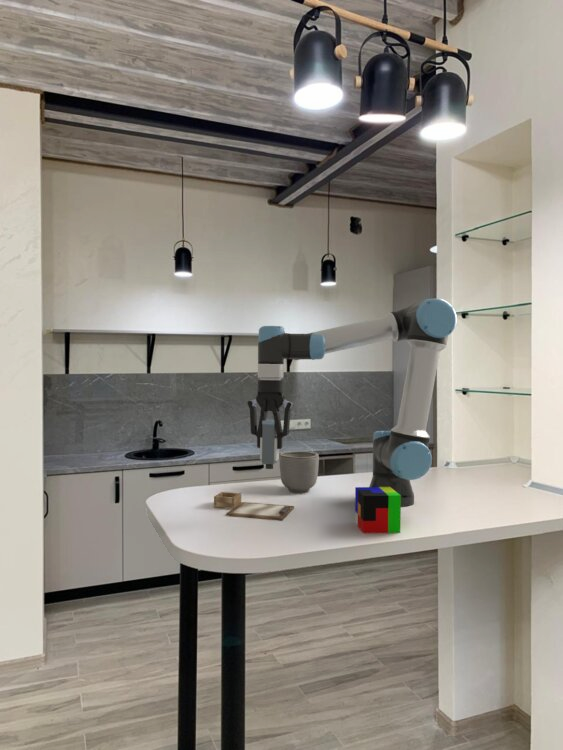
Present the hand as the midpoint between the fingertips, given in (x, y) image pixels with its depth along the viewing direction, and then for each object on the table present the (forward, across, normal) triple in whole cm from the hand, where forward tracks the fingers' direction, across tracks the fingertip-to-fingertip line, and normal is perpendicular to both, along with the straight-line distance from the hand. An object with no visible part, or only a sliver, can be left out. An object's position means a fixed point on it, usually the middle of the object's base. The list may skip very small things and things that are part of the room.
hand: (269, 459), depth 160 cm
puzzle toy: (+17, -32, +2) cm, 36 cm away
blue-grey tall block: (+3, 0, 0) cm, 3 cm away
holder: (+17, +15, -7) cm, 24 cm away
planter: (+17, -1, -33) cm, 37 cm away
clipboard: (+17, +3, -4) cm, 17 cm away
